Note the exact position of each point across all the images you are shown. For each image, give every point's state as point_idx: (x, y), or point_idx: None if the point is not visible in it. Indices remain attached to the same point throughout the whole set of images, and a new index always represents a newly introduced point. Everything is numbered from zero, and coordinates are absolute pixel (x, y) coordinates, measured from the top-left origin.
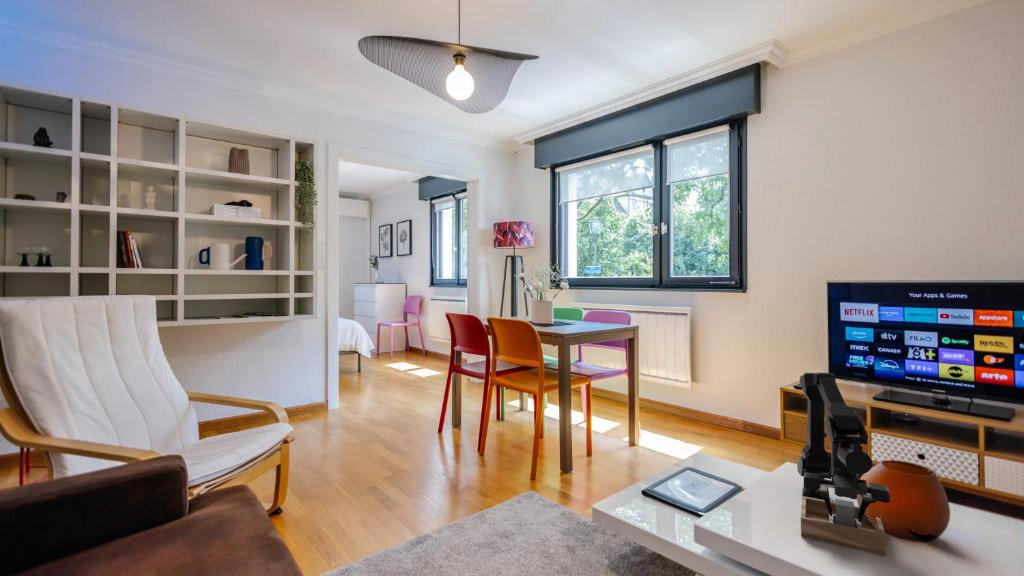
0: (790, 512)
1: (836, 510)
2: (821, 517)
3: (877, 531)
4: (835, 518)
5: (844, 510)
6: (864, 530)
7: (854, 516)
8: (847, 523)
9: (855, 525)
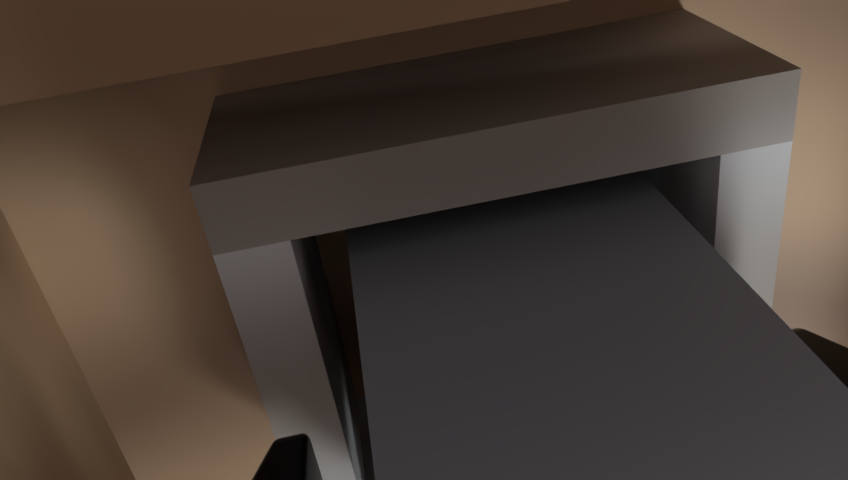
0: None
1: (837, 385)
2: None
3: (67, 468)
4: None
5: (655, 470)
6: (65, 31)
7: (374, 428)
8: (487, 264)
9: None
